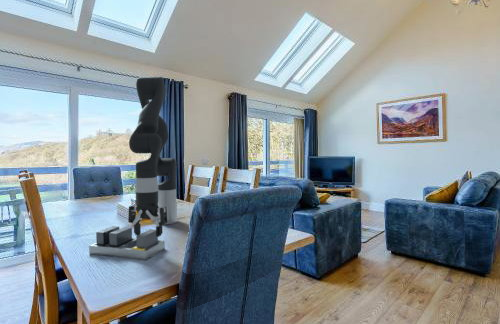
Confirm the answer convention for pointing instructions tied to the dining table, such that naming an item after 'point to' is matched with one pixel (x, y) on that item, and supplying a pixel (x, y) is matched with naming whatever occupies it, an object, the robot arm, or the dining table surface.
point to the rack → (122, 244)
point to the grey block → (147, 239)
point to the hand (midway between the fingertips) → (148, 235)
